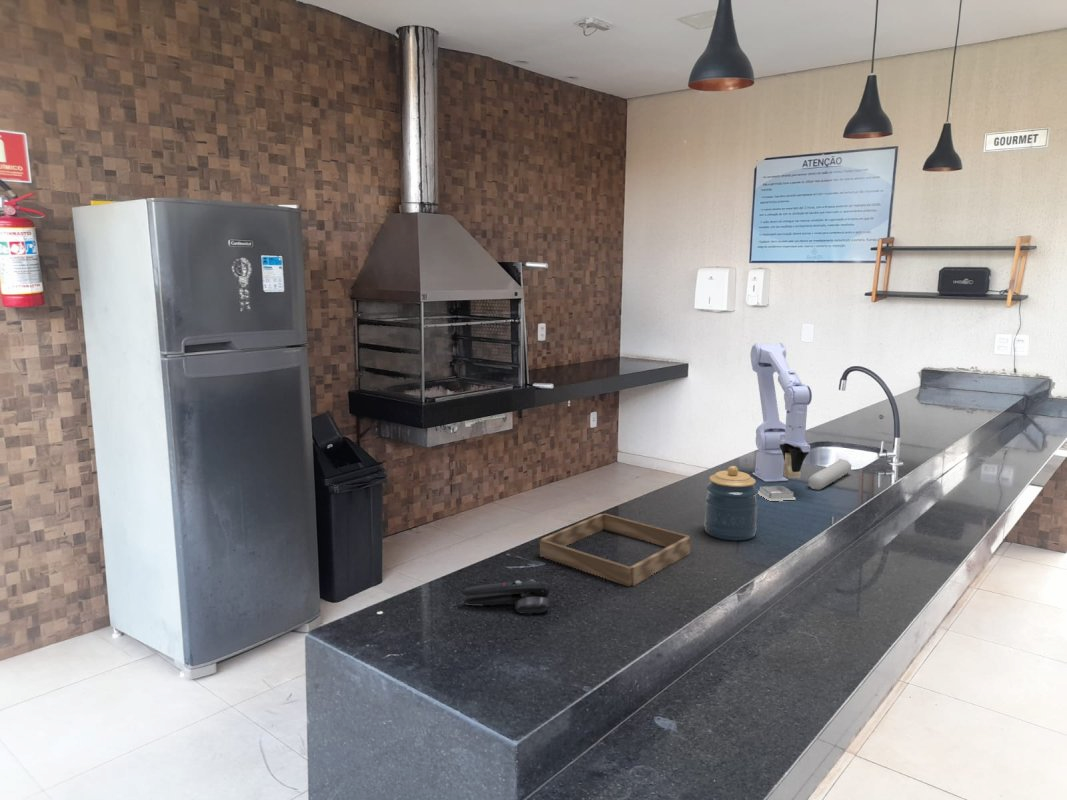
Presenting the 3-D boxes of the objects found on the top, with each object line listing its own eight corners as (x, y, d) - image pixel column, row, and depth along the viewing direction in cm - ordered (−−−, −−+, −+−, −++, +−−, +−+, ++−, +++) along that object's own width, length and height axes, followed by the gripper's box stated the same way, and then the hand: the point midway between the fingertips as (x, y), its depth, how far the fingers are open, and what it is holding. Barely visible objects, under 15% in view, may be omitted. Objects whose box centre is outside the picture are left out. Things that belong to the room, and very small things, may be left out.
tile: (757, 493, 222) (757, 491, 221) (782, 492, 223) (782, 490, 223) (769, 501, 214) (769, 499, 214) (795, 500, 215) (795, 498, 215)
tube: (825, 480, 222) (854, 464, 241) (809, 472, 226) (838, 456, 244) (818, 495, 225) (847, 478, 243) (802, 486, 228) (832, 470, 246)
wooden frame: (602, 527, 192) (603, 512, 191) (691, 552, 175) (692, 536, 175) (538, 556, 173) (538, 539, 172) (631, 587, 156) (631, 569, 155)
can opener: (552, 601, 150) (552, 575, 149) (549, 617, 143) (549, 590, 142) (466, 597, 152) (465, 571, 151) (459, 612, 145) (459, 585, 144)
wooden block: (783, 475, 224) (785, 452, 223) (794, 474, 224) (796, 452, 223) (789, 478, 220) (791, 455, 219) (800, 477, 221) (802, 455, 220)
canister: (700, 537, 185) (703, 470, 182) (707, 521, 197) (710, 457, 194) (754, 544, 181) (758, 475, 178) (757, 527, 193) (761, 462, 190)
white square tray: (758, 491, 221) (758, 486, 221) (781, 490, 222) (782, 485, 222) (770, 499, 214) (770, 494, 214) (794, 497, 215) (794, 492, 215)
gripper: (771, 421, 226) (768, 463, 229) (795, 431, 212) (792, 476, 214) (793, 420, 227) (790, 462, 230) (818, 430, 213) (814, 475, 216)
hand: (792, 469), depth 222 cm, fingers closed on wooden block, 3 cm apart
